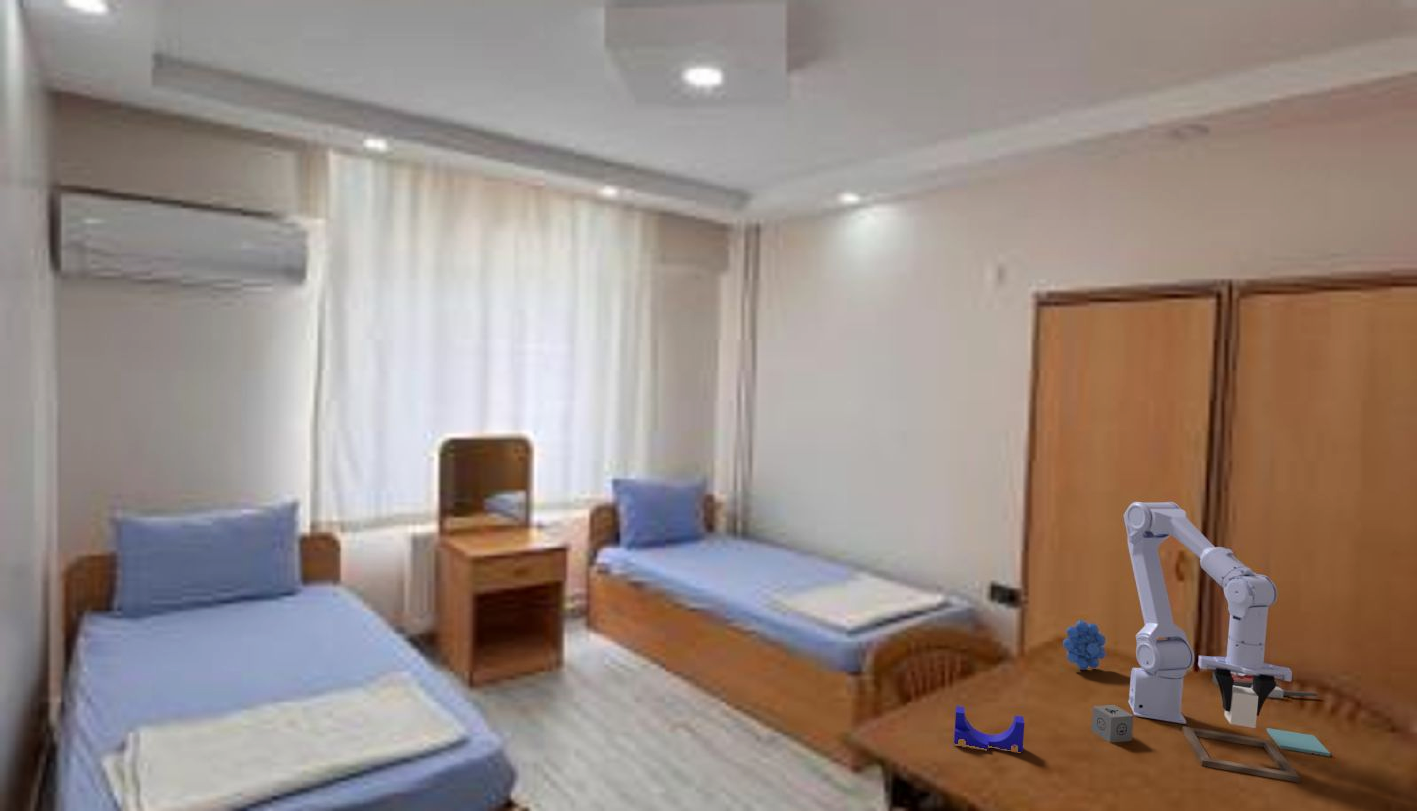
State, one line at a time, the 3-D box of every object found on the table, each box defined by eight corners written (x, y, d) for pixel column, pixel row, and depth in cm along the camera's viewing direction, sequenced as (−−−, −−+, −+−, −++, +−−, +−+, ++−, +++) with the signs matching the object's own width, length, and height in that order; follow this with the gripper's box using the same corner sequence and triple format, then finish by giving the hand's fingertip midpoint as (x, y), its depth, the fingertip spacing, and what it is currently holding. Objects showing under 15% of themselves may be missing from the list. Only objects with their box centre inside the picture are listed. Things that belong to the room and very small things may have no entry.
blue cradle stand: (953, 746, 150) (955, 715, 149) (954, 736, 154) (956, 705, 154) (1022, 759, 146) (1025, 726, 146) (1021, 748, 151) (1023, 716, 150)
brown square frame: (1201, 765, 146) (1202, 760, 146) (1182, 730, 160) (1182, 726, 160) (1299, 782, 142) (1299, 777, 141) (1270, 745, 156) (1270, 740, 156)
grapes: (1074, 678, 186) (1078, 627, 186) (1055, 667, 193) (1058, 617, 192) (1116, 675, 189) (1120, 625, 189) (1096, 664, 196) (1099, 616, 195)
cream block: (1230, 723, 149) (1233, 692, 149) (1224, 715, 153) (1226, 684, 153) (1255, 728, 148) (1258, 696, 148) (1248, 719, 152) (1251, 688, 152)
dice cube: (1091, 731, 159) (1093, 706, 159) (1112, 729, 160) (1114, 704, 160) (1109, 742, 154) (1111, 717, 154) (1131, 741, 155) (1133, 715, 155)
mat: (1280, 748, 155) (1280, 745, 155) (1266, 730, 162) (1266, 727, 162) (1330, 756, 152) (1330, 753, 152) (1313, 738, 160) (1313, 735, 160)
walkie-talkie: (1226, 696, 180) (1320, 702, 179) (1228, 677, 180) (1321, 683, 179) (1205, 681, 189) (1293, 687, 188) (1206, 662, 189) (1295, 668, 188)
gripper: (1207, 640, 148) (1201, 712, 149) (1300, 653, 144) (1294, 727, 144) (1197, 629, 155) (1192, 698, 156) (1286, 640, 150) (1280, 711, 151)
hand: (1240, 711), depth 151 cm, fingers closed on cream block, 4 cm apart
